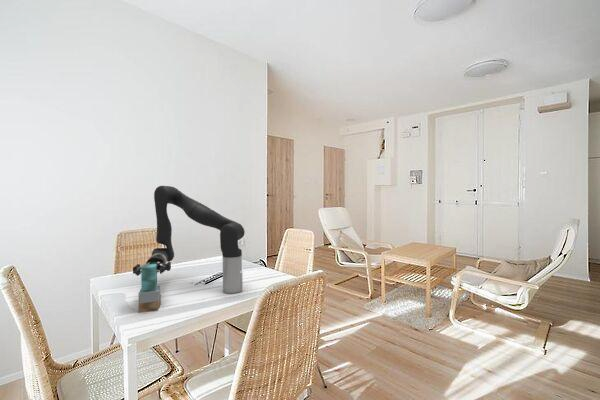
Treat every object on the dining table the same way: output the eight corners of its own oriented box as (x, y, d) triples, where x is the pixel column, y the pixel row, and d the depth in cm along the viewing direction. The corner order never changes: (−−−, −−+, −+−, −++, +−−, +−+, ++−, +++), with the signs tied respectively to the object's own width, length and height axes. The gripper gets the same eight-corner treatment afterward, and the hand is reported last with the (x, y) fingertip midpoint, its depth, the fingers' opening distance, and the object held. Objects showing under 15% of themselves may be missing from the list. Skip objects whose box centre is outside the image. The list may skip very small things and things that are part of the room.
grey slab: (160, 295, 120) (159, 285, 120) (158, 301, 113) (158, 291, 113) (141, 297, 117) (141, 288, 117) (138, 303, 111) (138, 293, 110)
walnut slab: (160, 304, 120) (160, 295, 120) (158, 310, 113) (157, 301, 113) (142, 306, 118) (142, 296, 118) (138, 313, 111) (138, 303, 111)
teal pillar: (157, 286, 118) (156, 263, 118) (155, 290, 114) (154, 266, 113) (143, 288, 117) (143, 264, 116) (141, 292, 112) (141, 268, 112)
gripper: (139, 255, 126) (129, 264, 111) (173, 253, 131) (168, 261, 115) (139, 271, 127) (129, 283, 111) (173, 269, 131) (168, 279, 116)
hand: (149, 272), depth 113 cm, fingers open, 8 cm apart
